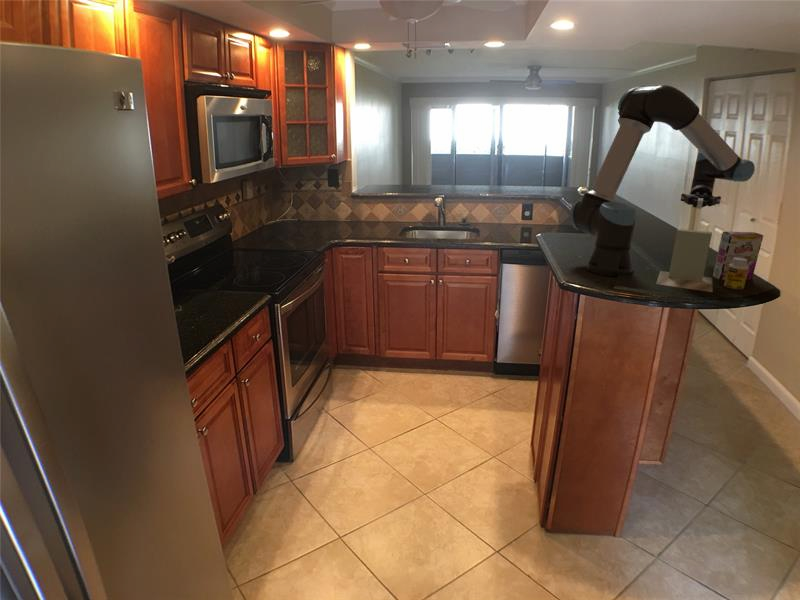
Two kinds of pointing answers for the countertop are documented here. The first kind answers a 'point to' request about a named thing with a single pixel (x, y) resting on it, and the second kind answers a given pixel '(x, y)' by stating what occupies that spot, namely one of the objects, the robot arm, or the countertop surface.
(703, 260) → the pale green rectangular block
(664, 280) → the board
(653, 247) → the countertop surface
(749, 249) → the candy bar box
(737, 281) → the supplement bottle
